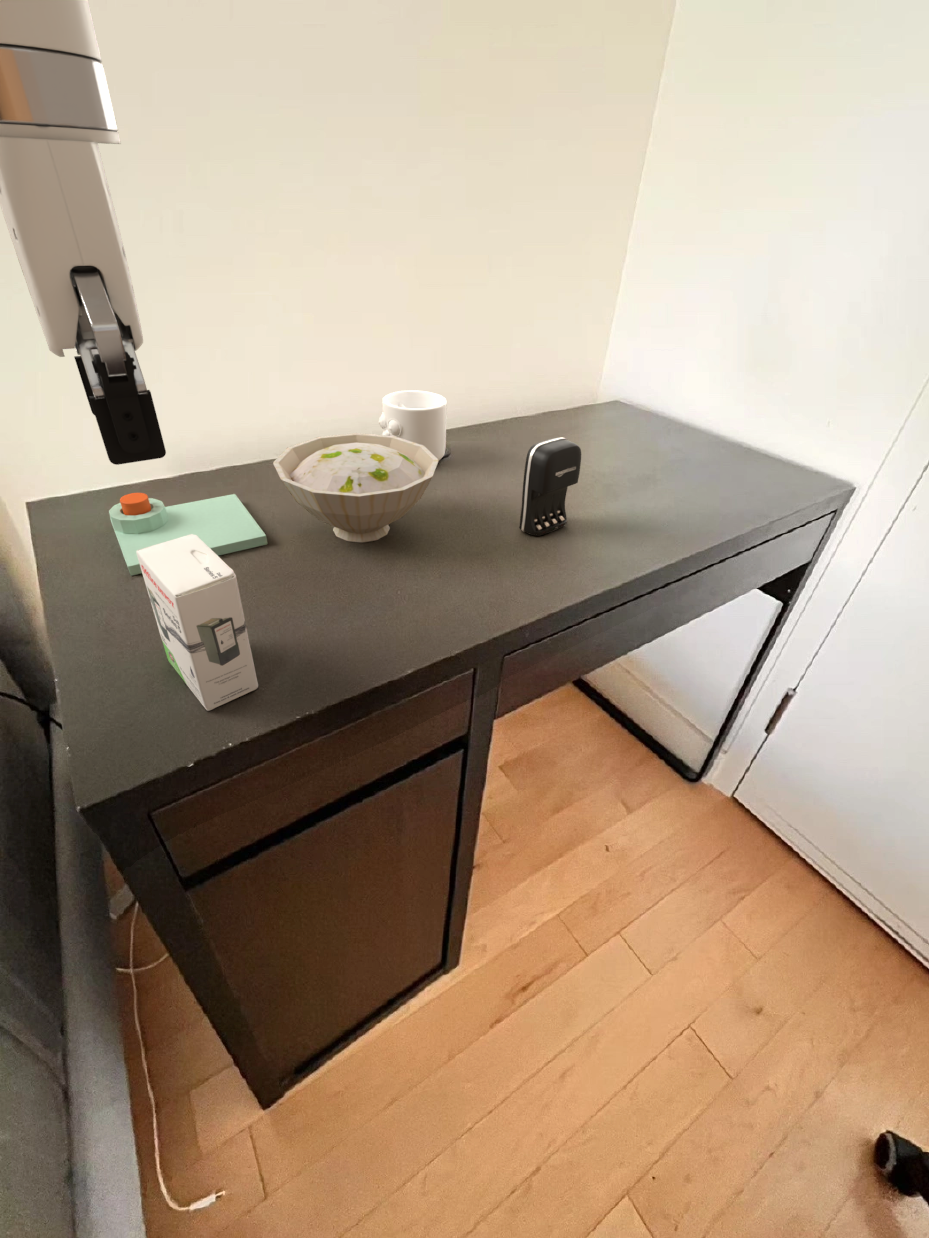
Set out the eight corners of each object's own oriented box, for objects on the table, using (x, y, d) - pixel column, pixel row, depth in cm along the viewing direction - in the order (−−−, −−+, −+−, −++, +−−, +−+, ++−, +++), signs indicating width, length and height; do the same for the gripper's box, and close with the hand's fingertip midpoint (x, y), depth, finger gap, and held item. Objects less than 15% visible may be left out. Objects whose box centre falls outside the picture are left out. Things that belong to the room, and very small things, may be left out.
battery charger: (537, 542, 77) (549, 454, 70) (516, 530, 79) (525, 444, 72) (574, 527, 80) (589, 442, 74) (553, 516, 83) (565, 433, 76)
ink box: (166, 661, 55) (130, 547, 49) (219, 640, 58) (192, 530, 51) (206, 714, 50) (172, 595, 44) (262, 688, 53) (239, 572, 46)
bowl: (334, 486, 87) (328, 415, 82) (460, 513, 82) (463, 440, 76) (249, 546, 73) (234, 465, 67) (396, 583, 68) (394, 500, 62)
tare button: (126, 519, 71) (121, 505, 70) (121, 509, 73) (117, 495, 72) (153, 513, 73) (150, 500, 72) (148, 504, 75) (145, 490, 74)
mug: (362, 449, 99) (359, 392, 94) (416, 438, 104) (415, 383, 99) (401, 475, 92) (400, 414, 86) (457, 461, 97) (459, 403, 91)
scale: (130, 576, 66) (122, 551, 65) (112, 526, 75) (105, 503, 73) (267, 544, 73) (264, 521, 72) (236, 502, 82) (232, 480, 80)
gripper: (-50, 106, 35) (55, 405, 46) (-72, 86, 24) (76, 494, 34) (95, 116, 39) (163, 393, 49) (138, 103, 27) (216, 471, 37)
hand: (127, 434), depth 41 cm, fingers open, 9 cm apart
